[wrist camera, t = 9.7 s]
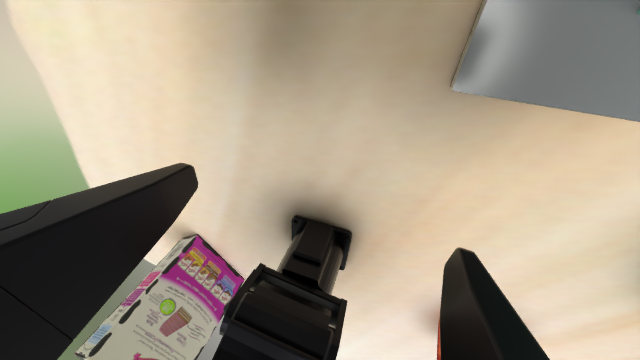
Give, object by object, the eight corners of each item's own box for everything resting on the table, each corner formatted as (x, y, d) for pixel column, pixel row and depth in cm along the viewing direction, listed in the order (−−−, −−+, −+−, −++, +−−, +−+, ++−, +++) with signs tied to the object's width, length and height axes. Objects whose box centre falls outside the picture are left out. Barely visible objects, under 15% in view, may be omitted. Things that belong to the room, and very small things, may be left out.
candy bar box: (180, 238, 40) (70, 353, 27) (197, 233, 37) (82, 358, 25) (228, 282, 44) (150, 399, 32) (246, 280, 41) (169, 408, 29)
